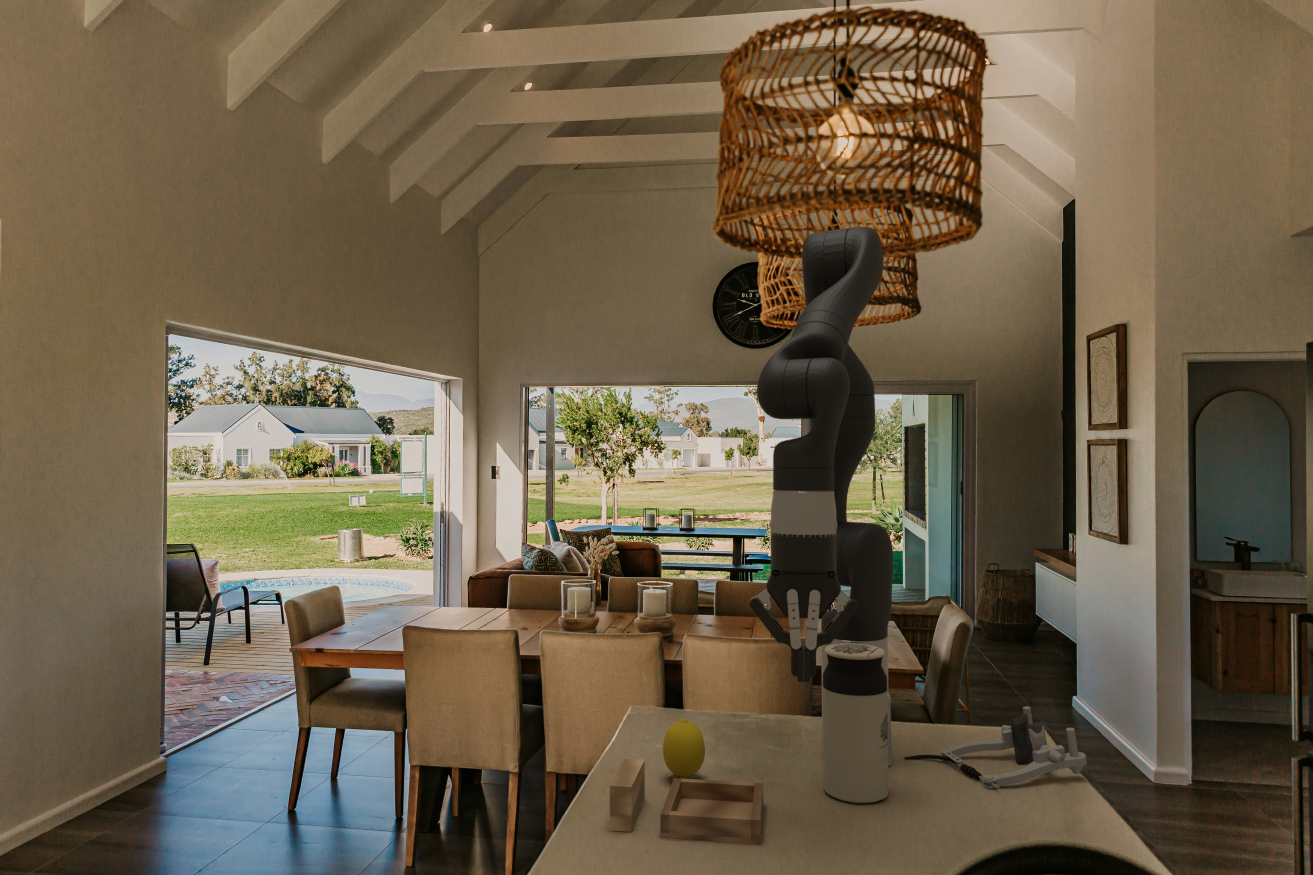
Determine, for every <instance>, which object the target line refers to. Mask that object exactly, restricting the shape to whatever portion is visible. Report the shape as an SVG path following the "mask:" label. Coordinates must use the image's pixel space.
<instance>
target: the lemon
mask: <svg viewBox="0 0 1313 875" xmlns="http://www.w3.org/2000/svg"><path fill="white" fill-rule="evenodd" d="M662 753H663V754H662V755H663V756H662V757H663V760H664V762H665V766H666V767H667V768H668V770H669V771H670V772H671V773H672V774H674V775H676V776H677V777H679V779H689V778H690V777H691V776H694V774H696V773H698V771H700V769H701V768H702V766H703V763H704V762H705V755H706V746H705V741H704V736H703V733H702V731H701V729H700V728H699V727H698V726H697V725H696V724H695V723H693V722H692V721H689V720H688V719H687V718H681V719H680V720H678V721H676V722H674V723H673V724H672V725H671V726H669V727H668V729H667V730H666V733H665V736H664V739H663V745H662Z"/></svg>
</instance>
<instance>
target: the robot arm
mask: <svg viewBox="0 0 1313 875" xmlns="http://www.w3.org/2000/svg"><path fill="white" fill-rule="evenodd" d="M801 252H802V254H801V264H802V266H801V267H802V268H801V269H802V278H803V280H802V281H803V289H804V290H803V291H804V300H805V307H804V308H803V310H802V312H801V313H800V314H799V315H798V318H797V320H796V323H795V325H794V327H793V328H794V329H793V330H792V333H791V336H790V338H789V339H788V340H787V341H785V343H783V345H781V346H780V348H779V349H778V350H777V351H776V352H774V353H773V355H772V356H771V357H770V358H769V359H768V360H767V361H766V363H765V364H764V366H763V368H762V369H761V370H760V371H761V372H760V375H759V377H758V382H757V385H756V396H757V400H758V401H757V402H758V404H759V406H760V408H761V410H762V411H763V412H764V413H765V414H766V415H767V416H769V417H770V418H772V419H778V420H807V419H808V420H809V423H810V430H809V432H807V433H806V434H805V435H801V436H798V437H796V438H791V439H786V440H783V441H780V442H778V443H777V444H776V445H775V446H774V448H773V455H772V467H773V468H772V490H773V491H772V500H771V507H770V522H769V527H770V576H769V578H768V579H767V582H766V586H765V587H766V588H765V589H764V590H762V591H761V592H760V593H758V594H757V595H754V596H752V597H751V598H750V599H749V607H750V608H751V609H752V611H753V613H754V614H755V615H756V616H757V617H758V619H759V620H760V621H761V623H762V624H763V625H764V627H765V628H766V630H768V632H769V633H770V635H771V636H772V638H773V639H774V640H775V641H776V642H777V643H779V644H784V645H786V646H788V648H790V651H791V653H790V655H791V656H790V657H791V658H790V672H791V675H792V677H796V681H797V682H798V683H799V682H800V683H811V678H815V677H816V674H817V650H818V649H819V648H820V647H821V648H820V649H821V746H822V749H821V750H822V756H823V672H824V670H825V668H826V666H827V664H828V659H827V654H826V653H825V651H824V649H825V648H826V647H827V646H829V645H833V644H843V643H854V644H866V645H872V646H876V647H879V648H881V649H883V650H884V651H885V654H884V656H883V658H882V664H881V666H882V668H883V670H884V672H885V674H886V676H887V711H888V767H889V766H892V716H891V714H892V708H891V704H892V703H891V701H892V699H891V695H890V692H889V652H888V651H889V638H888V636H889V635H888V633H889V627H888V626H889V623H890V618H891V615H892V604H893V579H894V578H893V577H894V576H893V575H894V550H893V543H892V540H891V537H890V534H889V532H888V530H886V528H885V527H884V526H882V525H880V524H878V523H874V522H873V523H872V522H861V521H860V522H857V521H848V518H847V517H848V516H847V515H848V514H847V508H848V507H847V503H848V495H849V494H848V493H849V488H850V484H851V482H852V479H853V477H854V474H855V473H856V470H857V469H858V467H859V465H860V463H861V462H862V460H863V458H864V456H865V455H866V453H867V450H868V449H869V446H870V444H871V442H872V440H873V437H874V435H875V431H876V398H875V395H876V394H875V393H876V392H875V385H874V381H873V379H872V376H871V374H870V373H869V371H868V370H867V368H866V367H865V365H864V363H863V362H862V360H860V358H859V357H858V355H857V353H856V352H854V349H853V348H852V347H851V346H850V345H849V341H850V337H851V335H852V332H853V329H854V327H855V324H856V323H857V321H858V319H859V318H860V316H861V314H862V313H863V312H864V310H865V308H866V307H867V305H868V304H869V302H870V301H871V299H872V298H873V295H874V294H875V292H876V290H877V288H878V287H879V285H880V282H881V279H882V278H883V277H882V275H883V271H884V251H883V245H882V240H881V237H880V235H879V234H878V232H877V231H876V230H875V228H873V227H871V226H870V227H869V226H853V227H852V226H851V227H846V228H838V229H831V230H825V231H824V230H823V231H818V232H814V233H810V234H809V235H807V236H806V237H805V239H804V242H803V246H802V251H801ZM842 586H843V587H849V588H850V592H849V596H848V595H847V594H846V593H845V592H843V591H842ZM770 598H772V600H773V601H774V603H775V604H776V606H777V607H778V608H779V610H780V611H781V612H782V614H783V615H784V616H786V617H788V624H789V625H788V626H789V631H787V630H785V629H784V628H783V626H782V625H781V624H780V623H779V621H778V620H777V619H776V617H775V616H774V615H773V613H772V612H771V611H770V610H771V608H772V604H771V601H770ZM836 600H837V603H836V605H835V609H832V610H829V609H830V607H831V606H832V605H833V603H834V602H835V601H836ZM800 618H806V621H805V622H806V623H805V625H806V626H805V641H804V643H805V644H804V645H803V643H802V642H803V641H802V635H801V621H800ZM819 618H821V619H820V620H821V621H820V623H821V624H820V628H821V629H820V630H821V631H820V632H818V630H819Z"/></svg>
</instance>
